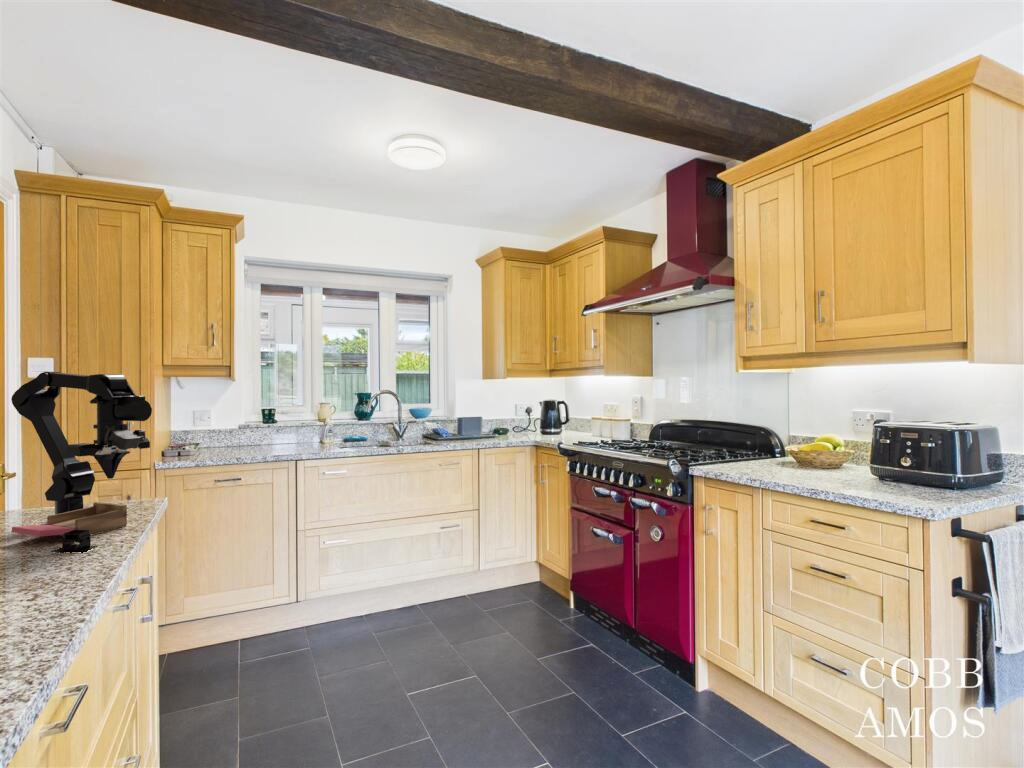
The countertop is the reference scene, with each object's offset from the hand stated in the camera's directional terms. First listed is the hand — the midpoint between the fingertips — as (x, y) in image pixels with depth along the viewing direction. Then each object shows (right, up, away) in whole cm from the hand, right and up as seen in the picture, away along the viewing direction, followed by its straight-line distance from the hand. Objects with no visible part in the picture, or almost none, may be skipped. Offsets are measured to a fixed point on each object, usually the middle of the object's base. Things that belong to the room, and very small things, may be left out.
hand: (110, 478), depth 147 cm
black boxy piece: (+8, -13, -22) cm, 27 cm away
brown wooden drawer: (-1, -12, -7) cm, 14 cm away
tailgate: (-3, -10, -13) cm, 16 cm away
